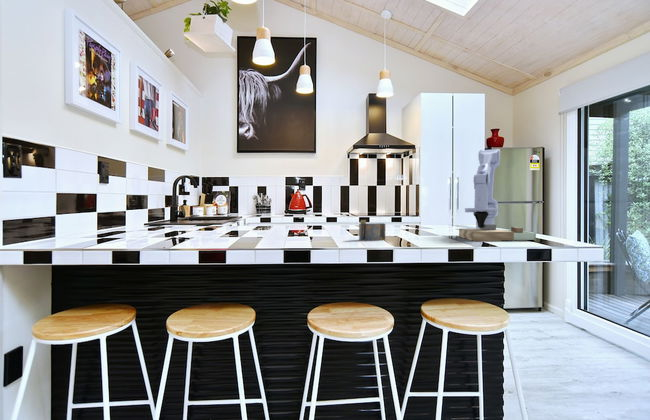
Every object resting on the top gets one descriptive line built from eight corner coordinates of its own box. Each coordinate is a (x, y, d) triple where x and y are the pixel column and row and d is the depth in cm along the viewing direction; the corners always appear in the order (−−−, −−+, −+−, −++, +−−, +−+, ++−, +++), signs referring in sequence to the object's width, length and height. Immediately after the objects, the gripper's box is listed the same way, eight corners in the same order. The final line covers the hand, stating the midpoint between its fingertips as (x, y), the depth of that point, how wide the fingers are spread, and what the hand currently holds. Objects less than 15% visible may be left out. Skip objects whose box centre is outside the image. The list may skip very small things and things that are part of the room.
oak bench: (459, 236, 166) (459, 228, 166) (495, 236, 167) (495, 228, 166) (473, 240, 151) (473, 231, 151) (513, 240, 152) (513, 231, 151)
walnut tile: (511, 226, 158) (516, 227, 158) (510, 237, 158) (516, 237, 158) (517, 228, 153) (522, 228, 153) (517, 239, 153) (522, 239, 153)
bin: (495, 236, 167) (495, 229, 166) (515, 236, 167) (515, 229, 167) (513, 240, 152) (513, 233, 151) (535, 240, 152) (535, 232, 152)
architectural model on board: (360, 241, 151) (361, 219, 151) (359, 240, 154) (359, 219, 154) (385, 241, 153) (385, 219, 152) (383, 240, 156) (383, 218, 155)
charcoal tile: (480, 228, 165) (480, 223, 164) (490, 228, 165) (490, 223, 165) (485, 229, 160) (485, 224, 159) (496, 229, 160) (496, 224, 160)
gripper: (469, 199, 157) (469, 228, 158) (501, 199, 158) (500, 228, 158) (463, 198, 164) (462, 227, 165) (492, 198, 165) (492, 227, 165)
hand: (480, 227), depth 162 cm, fingers closed
